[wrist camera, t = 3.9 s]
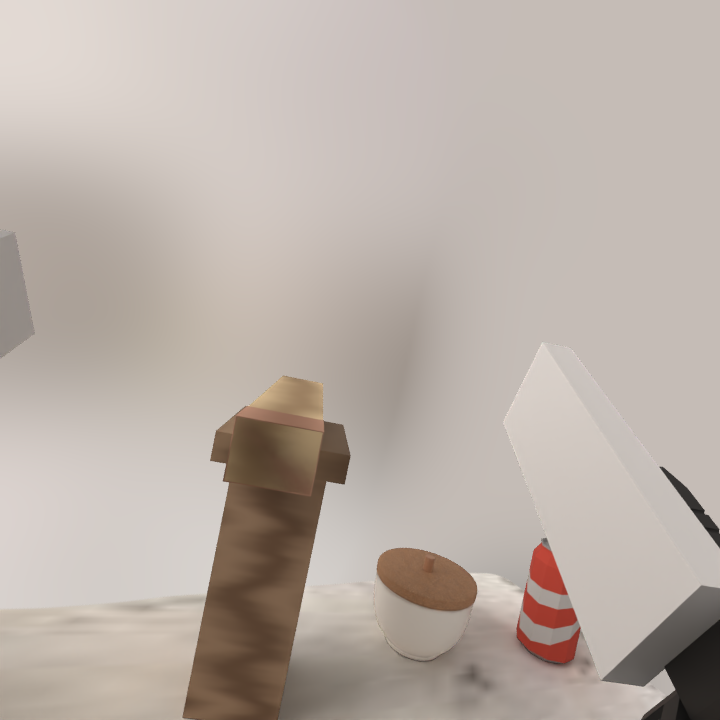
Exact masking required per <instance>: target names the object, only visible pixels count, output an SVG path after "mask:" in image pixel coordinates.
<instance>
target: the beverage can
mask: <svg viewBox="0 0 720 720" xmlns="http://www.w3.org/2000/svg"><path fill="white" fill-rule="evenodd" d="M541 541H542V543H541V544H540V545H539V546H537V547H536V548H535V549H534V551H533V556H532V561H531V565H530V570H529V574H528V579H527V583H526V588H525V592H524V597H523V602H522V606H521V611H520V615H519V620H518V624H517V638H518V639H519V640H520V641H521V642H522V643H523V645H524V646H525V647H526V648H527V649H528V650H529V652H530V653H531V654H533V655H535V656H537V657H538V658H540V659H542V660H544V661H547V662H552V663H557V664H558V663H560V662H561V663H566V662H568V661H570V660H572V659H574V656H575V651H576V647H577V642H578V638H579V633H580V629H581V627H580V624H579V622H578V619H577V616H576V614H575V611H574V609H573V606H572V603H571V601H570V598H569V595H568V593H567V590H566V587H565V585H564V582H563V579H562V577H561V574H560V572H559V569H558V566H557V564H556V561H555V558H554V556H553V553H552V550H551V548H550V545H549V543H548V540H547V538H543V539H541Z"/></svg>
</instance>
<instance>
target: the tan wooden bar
mask: <svg viewBox="0 0 720 720" xmlns="http://www.w3.org/2000/svg"><path fill="white" fill-rule="evenodd" d="M323 435H324V420H323V384H322V383H318V382H313V381H307V380H303V379H297V378H292V377H287V376H282V377H281V378H280V379H279V380H278V381H277V382H276V383H274V384H273V385H272V386H271V387H270V388H269V389H268V390H266V392H264V393H263V394H262V395H261V396H260V397H259V398H257V399H256V400H255V401H254V402H253V403H252V404H251V405H250V406H246V407H245V408H244V409H243V410H242V411H241V412H239V413H238V414H237V415H236V418H235V423H234V428H233V433H232V438H231V443H230V448H229V453H228V458H227V463H226V468H225V474H224V478H223V481H224V482H230V483H236V484H242V485H247V486H253V487H259V488H265V489H270V490H276V491H282V492H288V493H294V494H299V495H305V496H311V493H312V488H313V484H314V479H315V474H316V469H317V464H318V459H319V454H320V449H321V444H322V440H323Z"/></svg>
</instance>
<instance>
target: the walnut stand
mask: <svg viewBox="0 0 720 720" xmlns="http://www.w3.org/2000/svg"><path fill="white" fill-rule="evenodd" d="M245 407H246V406H245ZM245 407H244V408H245ZM244 408H243V409H244ZM243 409H242V410H243ZM242 410H240V411H239V412H241V411H242ZM239 412H238V413H239ZM238 413H237V414H238ZM237 414H236V415H237ZM236 415H234V416H233V417H232V418H231V419H230V420H229V421H227V422H226V423H225V424H224V425H223V426H221V427H220V428H219V429H218V430H217V431H216V434H215V439H214V444H213V449H212V454H211V459H210V461H215V462H220V463H227V458H228V453H229V448H230V443H231V438H232V433H233V428H234V423H235V418H236ZM349 460H350V452H349V447H348V444H347V440H346V435H345V431H344V427H343V425H341V424H336V423H330V422H325V421H324V435H323V440H322V444H321V449H320V454H319V459H318V464H317V469H316V474H315V479H314V484H313V488H312V493H311V496H305V495H299V494H294V493H288V492H282V491H276V490H270V489H265V488H259V487H253V486H247V485H242V484H236V483H230V482H229V487H228V492H227V497H226V502H225V507H224V512H223V517H222V522H221V527H220V533H219V537H218V542H217V547H216V552H215V557H214V563H213V567H212V572H211V577H210V582H209V587H208V592H207V597H206V602H205V607H204V612H203V617H202V622H201V627H200V632H199V637H198V642H197V647H196V652H195V657H194V662H193V667H192V672H191V677H190V682H189V687H188V692H187V697H186V702H185V707H184V712H183V718H191V719H199V720H277V719H278V714H279V710H280V705H281V700H282V695H283V690H284V685H285V680H286V675H287V671H288V666H289V661H290V656H291V651H292V646H293V641H294V636H295V632H296V627H297V622H298V617H299V612H300V607H301V602H302V597H303V593H304V588H305V583H306V578H307V573H308V568H309V563H310V558H311V554H312V549H313V544H314V539H315V534H316V529H317V524H318V519H319V515H320V510H321V505H322V500H323V495H324V489H325V485H326V481H328V482H333V483H339V484H345V480H346V475H347V469H348V465H349Z"/></svg>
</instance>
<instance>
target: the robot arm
mask: <svg viewBox="0 0 720 720" xmlns="http://www.w3.org/2000/svg"><path fill="white" fill-rule="evenodd" d="M34 333H35V332H34V327H33V322H32V317H31V312H30V307H29V302H28V296H27V292H26V286H25V281H24V277H23V271H22V266H21V261H20V255H19V251H18V245H17V240H16V235H15V232H10V231H6V230H1V229H0V358H2V357H3V356H5V355H6V354H7V353H9V352H10V351H12V350H13V349H14V348H16V347H17V346H18V345H20V344H21V343H23V342H24V341H25V340H27V339H28V338H29V337H31V336H32V335H33V334H34ZM503 423H504V426H505V429H506V431H507V434H508V437H509V440H510V442H511V445H512V447H513V450H514V453H515V455H516V458H517V460H518V463H519V466H520V469H521V471H522V474H523V477H524V479H525V482H526V484H527V487H528V490H529V492H530V495H531V498H532V500H533V503H534V505H535V508H536V511H537V513H538V516H539V519H540V521H541V524H542V526H543V529H544V532H545V534H546V537H547V540H548V543H549V545H550V548H551V550H552V553H553V556H554V558H555V561H556V564H557V566H558V569H559V572H560V574H561V577H562V579H563V582H564V585H565V587H566V590H567V593H568V595H569V598H570V601H571V603H572V606H573V609H574V611H575V614H576V616H577V619H578V622H579V624H580V627H581V630H582V632H583V635H584V638H585V640H586V643H587V646H588V648H589V651H590V653H591V656H592V659H593V661H594V664H595V667H596V669H597V672H598V675H599V677H600V680H601V681H608V682H615V683H622V684H629V685H636V686H643V687H644V686H645V685H646V684H647V683H648V682H650V681H651V680H652V679H653V678H654V677H655V676H657V675H658V674H659V673H660V672H661V671H663V670H664V669H666V671H667V673H668V675H669V677H670V679H671V681H672V683H673V685H674V687H675V689H676V690H675V691H674V692H672V693H671V694H670V695H669V696H667V697H666V698H665V699H664V700H662V701H661V702H660V703H658V704H657V705H656V706H655V707H653V708H652V709H651V710H650V711H648V712H647V713H646V714H644V716H643V718H642V719H641V720H720V534H719V528H718V527H717V526H716V525H715V523H714V522H713V521H712V519H711V518H710V517H709V515H705V514H704V511H705V510H704V509H703V508H702V507H701V505H700V504H699V503H698V501H697V500H696V499H695V497H694V496H693V495H692V494H691V492H690V491H689V490H688V489H687V488H686V487H685V486H684V485H683V484H682V483H681V482H680V481H678V480H677V479H676V478H675V477H674V476H673V475H672V474H670V473H669V472H668V471H667V470H666V469H665V468H663V467H659V466H658V465H657V463H656V462H655V461H654V459H653V458H652V457H651V456H650V454H649V453H648V451H647V450H646V449H645V447H644V446H643V445H642V443H641V442H640V441H639V439H638V438H637V437H636V435H635V434H634V433H633V431H632V430H631V428H630V427H629V426H628V425H627V423H626V422H625V420H624V419H623V418H622V416H621V415H620V414H619V412H618V411H617V410H616V408H615V407H614V406H613V404H612V403H611V402H610V400H609V399H608V398H607V396H606V395H605V393H604V392H603V391H602V389H601V388H600V387H599V386H598V384H597V383H596V381H595V380H594V379H593V377H592V376H591V375H590V373H589V372H588V371H587V370H586V368H585V367H584V365H583V364H582V363H581V361H580V360H579V359H578V357H577V356H576V355H575V353H574V352H573V351H572V349H571V348H570V347H566V346H561V345H555V344H551V343H546V342H542V344H541V346H540V348H539V350H538V352H537V355H536V356H535V359H534V360H533V362H532V364H531V367H530V368H529V370H528V372H527V375H526V377H525V379H524V381H523V383H522V385H521V387H520V389H519V391H518V393H517V395H516V397H515V399H514V401H513V403H512V405H511V407H510V409H509V411H508V413H507V415H506V417H505V419H504V421H503Z"/></svg>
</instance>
